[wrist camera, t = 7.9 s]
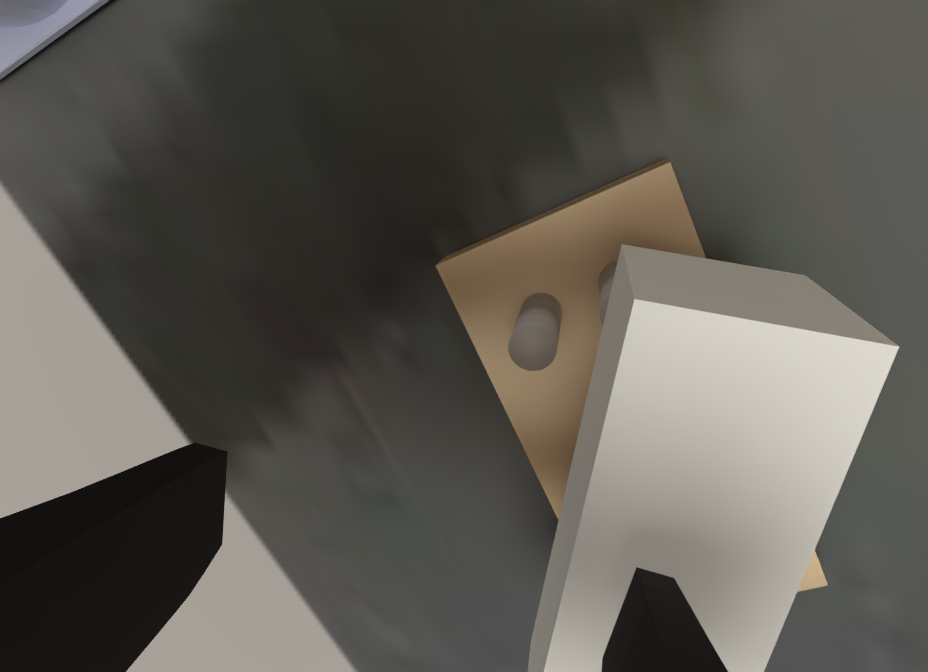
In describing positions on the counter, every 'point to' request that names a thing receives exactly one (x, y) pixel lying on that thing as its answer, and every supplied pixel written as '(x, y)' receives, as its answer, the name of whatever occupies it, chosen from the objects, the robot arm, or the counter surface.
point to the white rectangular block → (706, 452)
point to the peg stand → (563, 307)
